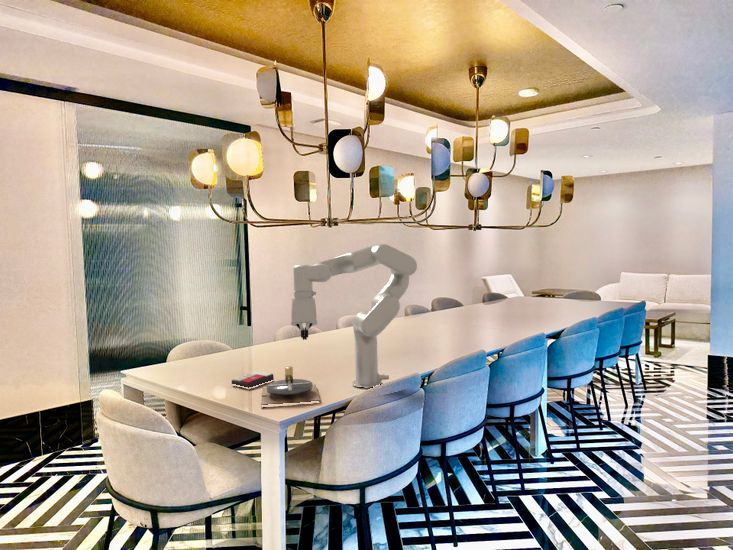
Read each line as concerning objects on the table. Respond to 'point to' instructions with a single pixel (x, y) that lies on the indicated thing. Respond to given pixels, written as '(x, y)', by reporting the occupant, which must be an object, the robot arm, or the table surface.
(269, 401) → the valve base
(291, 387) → the handwheel
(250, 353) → the table surface
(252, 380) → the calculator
